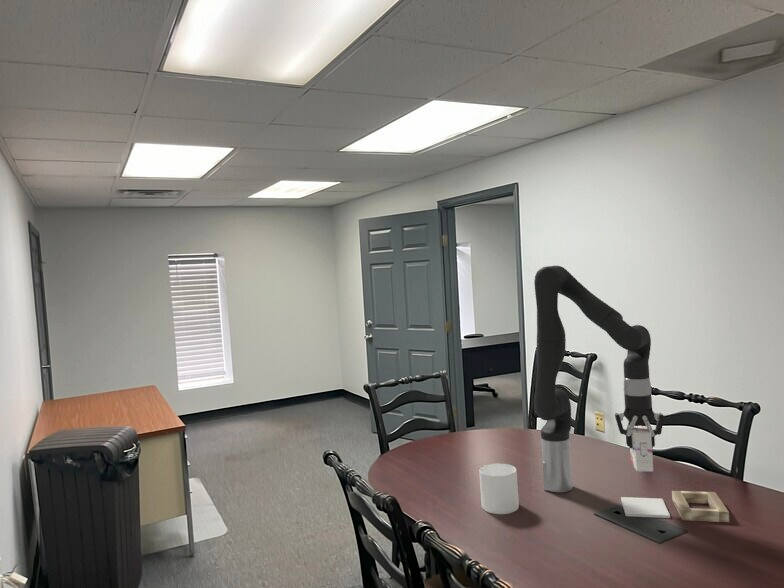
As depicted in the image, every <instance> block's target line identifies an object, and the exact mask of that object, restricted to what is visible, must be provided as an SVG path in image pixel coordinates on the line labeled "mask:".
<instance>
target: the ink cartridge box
mask: <svg viewBox="0 0 784 588" xmlns="http://www.w3.org/2000/svg"><path fill="white" fill-rule="evenodd" d="M647 423H648V429H647V427H646V426H634V429H633V430H632V433H631V437H632V448H629V450H630V451H629V452H630V462H631V464H632V466H633V468H634V469H635V471H636V472H641V473H642V472H654V459H653V458H654V457H653V449H652V439H651V430H650V425H651V423H650V422H648V421H647ZM649 423H650V424H649Z"/></svg>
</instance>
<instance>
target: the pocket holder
mask: <svg viewBox="0 0 784 588" xmlns="http://www.w3.org/2000/svg"><path fill="white" fill-rule="evenodd" d="M671 500H672V503H673V505H674V507H675V509H676V510H677V512H678V514H679V517H680V518H681V520H682V521H692V522H696V521H697V522H716V523H730V512H729V510H728V508H727V507H726V506H725V504H724V503H723V501H722V500H721V498H720V497H719V496H718V494H717V493H716V492H715V491H690V490H671ZM690 503H691V504H707V505H708V507H709V508H700V507H699V508H698V507H697V508H696V507H695V508H694V507H690V505H689V504H690Z"/></svg>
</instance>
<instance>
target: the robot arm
mask: <svg viewBox="0 0 784 588" xmlns="http://www.w3.org/2000/svg"><path fill="white" fill-rule="evenodd" d="M533 284H534V293H535V302H536V327H537V328H536V379H535V389H534V398H533V399H534V401H533V405H534V406H533V407H534V410H535V413H536V415H537V417H538V418H539V419H540V420H543V421H546V423H545V424H544V425H543V426H542V428H541V430H540V439H541V440H540V441H541V455H542V463H541V465H542V477H543V490H544V491H548V492H552V493H553V492H554V493H567V492H570V491H571V490H573V477H572V476H573V475H572V473H573V472H572V462H571V461H572V460H571V446H570V445H571V444H570V441H571V440H570V432H571V429H572V405H571V404H572V403H571V399H570V398H569V395H568V393H566V392H565V391H564V390H563V389H561V388H560V389H559V388H556V381H557V376H558V374H559V372H560V369H561V366H562V364H563V363H564V359H565V355H566V344H567V343H566V330H565V327H564V324H563V321H562V319H561V317H560V314H559V309H558V308H559V305H558V302H559V301H558V300H559V294H560V295H562V296H564V297H566V298H568V299H569V300H571V301H572V302H573V303H574V304H575V305H576V306H577V307H578V308H579V309H580V311H581V312H582V313H583V315H584V316H585V317H586V318H587V319H589V320H590V321H591V323H594V324H595V326H597V327H598V328H600V329H602V330H603V331H604V332H606V333H607V335H608V336H609V337H610V338H611V339H612V340H613V342H615V344H617V345H618V346H619V347H621V348H623V349H625V350H626V351H627V355H626V357H625V358H624V360H623V379H624V380H623V392H624V393H623V394H624V395H623V396H624V411H623V412H621V413H617V412H615V414H614V417H615V421H616V425H617V427H618V430H619V433H620V435H624V436H625V441H626V442H625V444H626V445H627V447H628V448H629V449H630V448H632V437H631V433H632V430H633V429H634V426H646V427H647V429H648V423H647V421H648V422H649V424H650V430H651V439H652V450H653V449H654V448H655V446H656V442H655V441H656V439H655V437H656V436H657V435H661V434H662V431H663V426H664V420H665V415H664V414H663V413H661V412H659V413H657V412H654V411H653V401H652V397H653V396H652V384H651V379H650V366H649V365H650V364H649V361H650V356H651V355H650V354H651V345H652V339H651V334H650V332H649V330H648V329H647V328H646V327H645V326H643V325H639V324H635V325H630V324H629V323H627V322H626V321H625V320H624V318H623V315H622V314H621V313H620V312H619V311H618V310H616V309H615V308H613V306H612V307H611V305H609V304H607V303H606V302H604V301H603V300H601V299H600V298H599V297H597V296H596V294H593V293H592V292H591V291H590V290H588V288H586V287H585V286H584V285H583V284H582V283H581V282H580V281H579V280H577V279H576V277H574V275H572V273H570V272H569V271H568V270H567V269H566V268H565V267H563V266H560V265H547V266H543V267H540V268H539V269H538V270H537V271H536V273H535V276H534V283H533ZM624 417H625V419H627V421H628V423H627V425H626V426H627V427H626V429H624V428H623V427H624V426H623V423H622V422H623V421H624ZM653 418H654V419H655V420H656V425H655V429H653V427H652V426H651V423H650V422H651V421H652V420H653ZM653 447H654V448H653Z"/></svg>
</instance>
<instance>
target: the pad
mask: <svg viewBox="0 0 784 588" xmlns="http://www.w3.org/2000/svg"><path fill="white" fill-rule="evenodd" d="M620 500H621V504H622V508H623V511H624V515H625V517H636V518H637V517H640V518H658V519H659V518H660V519H671V514H670V512H669V511H668V507H667V506H666V504H665V502H664V501H665V500H664V499H663V498H656V497H654V498H653V497H652V498H650V497H632V496H631V497H627V496H624V497H623V496H621V497H620Z"/></svg>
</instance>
